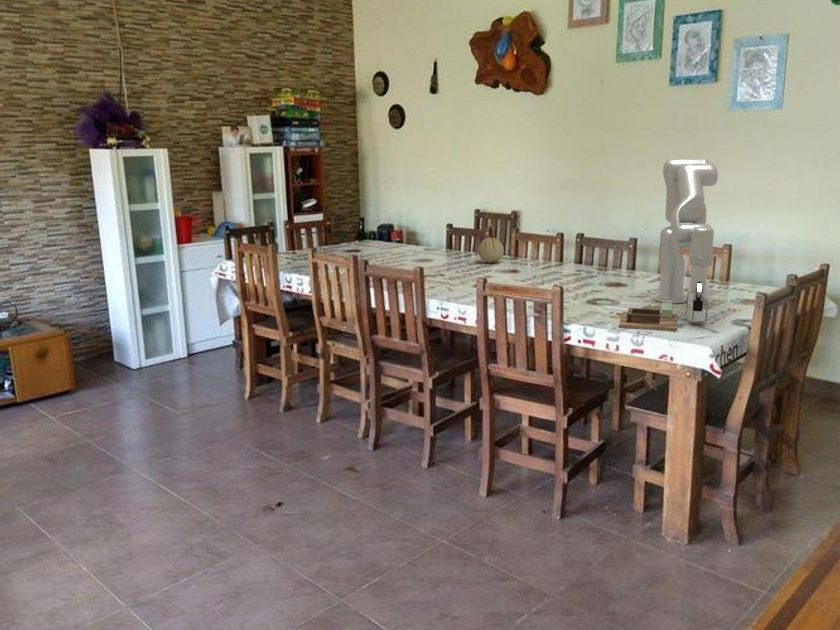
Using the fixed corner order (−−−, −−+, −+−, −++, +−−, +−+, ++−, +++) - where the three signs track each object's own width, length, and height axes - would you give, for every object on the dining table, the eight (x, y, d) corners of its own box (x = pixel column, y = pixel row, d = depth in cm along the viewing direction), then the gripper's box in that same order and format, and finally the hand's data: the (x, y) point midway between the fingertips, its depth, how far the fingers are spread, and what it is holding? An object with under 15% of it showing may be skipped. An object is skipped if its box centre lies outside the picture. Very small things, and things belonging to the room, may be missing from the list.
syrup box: (700, 318, 273) (703, 280, 270) (707, 322, 268) (710, 283, 264) (685, 318, 273) (688, 281, 270) (691, 323, 267) (694, 284, 264)
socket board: (622, 314, 288) (623, 304, 287) (676, 317, 281) (676, 306, 280) (619, 327, 267) (619, 316, 266) (676, 331, 261) (677, 319, 260)
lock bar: (661, 309, 287) (661, 302, 287) (672, 310, 286) (672, 302, 286) (660, 317, 275) (661, 309, 275) (672, 317, 274) (672, 310, 274)
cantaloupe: (493, 265, 405) (493, 239, 402) (472, 263, 415) (472, 237, 412) (509, 262, 416) (509, 236, 412) (488, 260, 426) (488, 234, 422)
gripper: (688, 256, 274) (685, 302, 278) (690, 265, 258) (686, 313, 262) (710, 257, 272) (706, 303, 276) (712, 265, 256) (709, 314, 260)
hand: (697, 308), depth 269 cm, fingers closed on syrup box, 7 cm apart
